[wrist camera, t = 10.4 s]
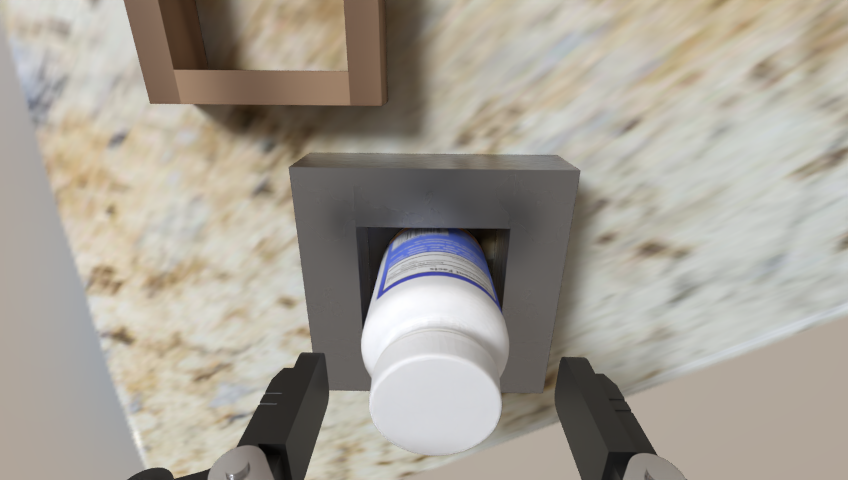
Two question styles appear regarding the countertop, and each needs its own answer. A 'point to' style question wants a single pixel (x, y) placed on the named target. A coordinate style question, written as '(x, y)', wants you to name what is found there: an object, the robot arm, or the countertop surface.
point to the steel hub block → (433, 208)
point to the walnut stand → (194, 84)
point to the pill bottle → (435, 343)
